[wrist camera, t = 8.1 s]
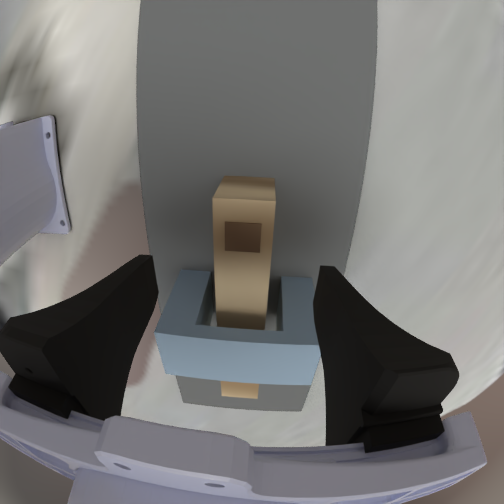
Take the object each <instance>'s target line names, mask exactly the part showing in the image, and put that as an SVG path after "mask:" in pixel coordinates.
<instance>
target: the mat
mask: <svg viewBox="0 0 504 504" xmlns="http://www.w3.org/2000/svg"><path fill="white" fill-rule="evenodd" d="M376 57H377V0H141V4H140V15H139V28H138V45H137V131H138V150H139V164H140V177H141V187H142V197H143V206H144V215H145V223H146V230H147V238H148V244H149V251H150V255H153V261H154V267H155V273H156V279H157V285H158V290H159V294H158V302H159V307H160V312H161V315H162V312H163V310H164V307H165V305H166V303H167V300H168V298H169V296H170V294H171V291H172V289H173V287H174V284H175V282H176V280H177V278H178V275H179V273H180V271H181V269H182V270H195V271H209V272H211V285H212V303H213V316H212V320H211V324H210V326H215V327H217V318H216V298H215V275H214V245H213V200H212V198H213V196H214V194H215V192H216V190H217V189H218V187H219V185H220V183H221V181H222V179H223V177H224V176H246V177H265V178H274V179H275V196H276V205H275V218H274V231H273V243H272V255H271V266H270V278H269V289H268V300H267V311H266V321H265V330H270V331H276V316H277V308H278V300H279V292H280V283H281V276H287V277H305V278H312V281H313V286H314V291H315V290H316V285H317V280H318V275H319V270H320V265H323V266H335V267H336V268H337V270H338V271H339V272H340V273H341V274H342V275H343V276H344V272H345V268H346V263H347V259H348V255H349V250H350V246H351V241H352V237H353V232H354V227H355V222H356V217H357V212H358V207H359V202H360V196H361V191H362V185H363V179H364V172H365V166H366V159H367V152H368V145H369V137H370V129H371V120H372V111H373V101H374V89H375V75H376ZM319 360H320V359H319ZM318 363H319V362H318ZM317 366H318V365H317ZM316 369H317V368H316ZM315 372H316V371H315ZM314 375H315V374H314ZM176 379H177V382H178V386H179V389H180V393H181V396H182V400H183V403H190V404H197V405H205V406H213V407H223V408H234V409H246V410H263V411H302V408H303V405H304V403H305V400H306V397H307V395H308V392H309V389H310V386H311V385H276V384H259V389H258V399H254V398H239V397H228V396H222V393H221V381H218V380H209V379H200V378H193V377H185V376H178V375H176Z"/></svg>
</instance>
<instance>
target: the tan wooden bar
mask: <svg viewBox="0 0 504 504" xmlns="http://www.w3.org/2000/svg"><path fill="white" fill-rule="evenodd" d="M212 200H213V245H214V275H215V298H216V318H217V327H226V328H239V329H253V330H265V321H266V311H267V300H268V289H269V278H270V266H271V255H272V243H273V231H274V218H275V205H276V196H275V179H274V178H265V177H246V176H224V177H223V179H222V181H221V183H220V185H219V187H218V189H217V190H216V192H215V194H214V196H213V198H212ZM258 389H259V384H255V383H241V382H229V381H221V393H222V396H228V397H239V398H254V399H258Z"/></svg>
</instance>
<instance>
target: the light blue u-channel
mask: <svg viewBox="0 0 504 504" xmlns="http://www.w3.org/2000/svg"><path fill="white" fill-rule="evenodd" d="M314 294H315V291H314V286H313V281H312V278H305V277H287V276H281V283H280V292H279V300H278V308H277V316H276V331H270V330H253V329H239V328H226V327H215V326H210V324H211V320H212V316H213V303H212V285H211V272H209V271H195V270H182V269H181V271H180V273H179V275H178V278H177V280H176V282H175V284H174V287H173V289H172V291H171V294H170V296H169V298H168V300H167V303H166V305H165V307H164V310H163V312H162V315H161V317H160V319H159V322H158V324H157V327H156V329H155V331H154V334H155V338H156V342H157V345H158V349H159V352H160V356H161V359H162V363H163V366H164V369H165V373H166V374H171V375H178V376H185V377H193V378H200V379H209V380H218V381H229V382H241V383H255V384H276V385H311V383H312V380H313V377H314V374H315V371H316V368H317V365H318V362H319V359H320V356H321V353H320V348H319V343H318V339H317V334H316V329H315V324H314V314H313V299H314Z"/></svg>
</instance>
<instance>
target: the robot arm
mask: <svg viewBox="0 0 504 504" xmlns="http://www.w3.org/2000/svg"><path fill="white" fill-rule="evenodd" d="M49 133H50V135H51V136H50V137H49ZM63 221H64V222H65V223H64V222H63ZM70 230H71V226H70V222H69V218H68V213H67V208H66V203H65V198H64V192H63V187H62V181H61V174H60V168H59V160H58V152H57V143H56V132H55V120H54V117H53V116H52V115H48V116H44V117H40V118H37V119H33V120H29V121H26V122H22V123H19V124H16V125H13V121H11V122H8V123H5V124H2V125H0V266H1V265H2V264H3V263H4V262H5V261H6V260H7V259H8V258H9V257H10V256H11V255H13V254H14V253H15V252H16V251H17V250H18V249H19V248H20V247H22V246H23V245H24V244H25V243H26V242H27V241H28V240H30V239H31V238H32V237H33V236H34V235H36V234H37V233H52V234H67V233H69V232H70ZM158 294H159V290H158V285H157V279H156V273H155V267H154V261H153V255H138V256H137V257H135V258H133V259H132V260H130V261H129V262H127V263H126V264H124V265H123V266H121V267H120V268H119V269H117V270H116V271H114V272H113V273H111V274H110V275H108V276H107V277H105V278H104V279H102V280H101V281H99V282H97V283H96V284H94V285H93V286H91V287H89V288H88V289H86V290H84V291H83V292H81V293H79V294H77V295H75V296H73V297H71V298H69V299H66V300H64V301H62V302H59V303H57V304H55V305H52V306H50V307H47V308H44V309H41V310H38V311H35V312H32V313H28V314H24V315H19V316H15V317H11V318H10V319H9V320H8V321H7V323H6V324H5V325H4V327H3V328H2V329H1V331H0V352H1V354H2V355H3V357H4V358H5V360H6V361H7V362H8V364H9V365H10V367H11V368H12V369H13V371H14V372H15V373H16V374H15V376H14V378H13V379H12V378H11V377H10V376H9V375H7V374H6V373H4V372H2V371H0V438H1V439H2V440H4V441H5V442H7V443H8V444H10V445H11V446H13V447H15V448H16V449H18V450H19V451H21V452H22V453H24V454H26V455H27V456H29V457H31V458H32V459H34V460H36V461H38V462H39V463H41V464H43V465H45V466H47V467H48V468H50V469H52V470H54V471H56V472H58V473H60V474H62V475H64V476H66V477H68V478H70V479H72V480H74V483H73V486H72V490H71V493H70V496H69V500H68V503H67V504H401V503H404V502H407V501H410V500H414V499H416V498H419V497H422V496H425V495H428V494H431V493H434V492H437V491H439V490H442V489H445V488H447V487H450V486H452V485H453V484H455V483H457V482H459V481H460V480H462V479H463V478H465V477H467V476H469V475H470V474H472V473H474V472H475V471H477V470H478V469H480V468H481V467H483V466H484V465H486V463H487V459H486V456H485V453H484V450H483V446H482V443H481V440H480V437H479V434H478V431H477V428H476V425H475V423H474V420H473V417H472V414H471V412H470V411H468V412H465V413H461V414H458V415H454V416H451V417H448V418H446V419H444V420H443V421H441V418H440V415H439V414H441V413H442V412H443V408H442V406H441V402H442V401H443V400H444V399H445V398H446V396H447V395H448V394H449V393H450V392H451V391H452V389H453V388H454V387H455V385H456V384H457V381H458V378H459V371H458V369H457V367H456V365H455V363H454V361H453V359H452V356H451V355H450V353H447V352H445V351H443V350H440V349H438V348H436V347H433V346H431V345H429V344H427V343H425V342H423V341H421V340H420V339H418V338H416V337H414V336H412V335H411V334H409V333H407V332H406V331H404V330H403V329H401V328H400V327H398V326H397V325H395V324H394V323H393V322H391V321H390V320H389V319H387V318H386V317H385V316H384V315H382V314H381V313H380V312H379V311H378V310H376V309H375V308H374V307H373V306H372V305H371V304H370V303H369V302H368V301H367V300H366V299H365V298H364V297H363V296H362V295H361V294H360V293H359V292H358V291H357V290H356V289H355V288H354V287H353V286H352V285H351V284H350V283H349V282H348V281H347V279H346V278H345V277H344V276H343V275H342V274H341V273H340V272H339V271H338V270H337V268H336V267H335V266H323V265H320V270H319V275H318V280H317V285H316V290H315V294H314V299H313V314H314V324H315V329H316V334H317V339H318V343H319V348H320V353H321V358H322V363H323V369H324V380H325V397H326V446H318V447H253V446H250V444H249V443H248V442H246V441H244V440H242V439H239V438H237V437H235V436H232V435H226V434H221V433H216V432H209V431H201V430H193V429H187V428H180V427H174V426H169V425H163V424H158V423H153V422H148V421H144V420H139V419H135V418H131V417H123V416H121V409H122V403H123V398H124V393H125V388H126V384H127V380H128V375H129V372H130V368H131V364H132V361H133V358H134V354H135V352H136V349H137V347H138V345H139V342H140V340H141V338H142V336H143V333H144V331H145V329H146V327H147V325H148V322H149V320H150V318H151V316H152V313H153V311H154V308H155V305H156V301H157V298H158Z"/></svg>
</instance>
